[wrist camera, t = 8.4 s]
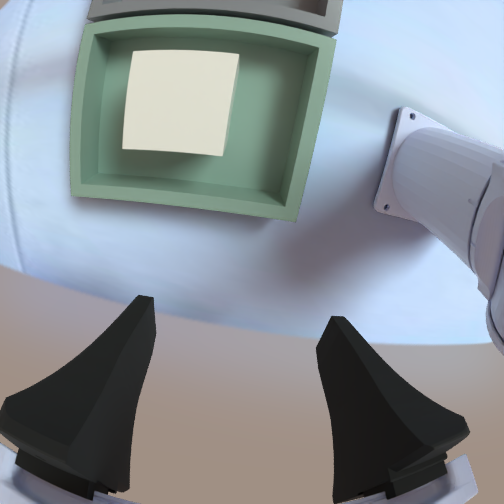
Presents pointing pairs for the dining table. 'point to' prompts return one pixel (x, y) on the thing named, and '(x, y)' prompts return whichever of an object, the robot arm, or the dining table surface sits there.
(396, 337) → the dining table surface
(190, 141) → the stone block
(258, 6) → the tray
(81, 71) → the tray
